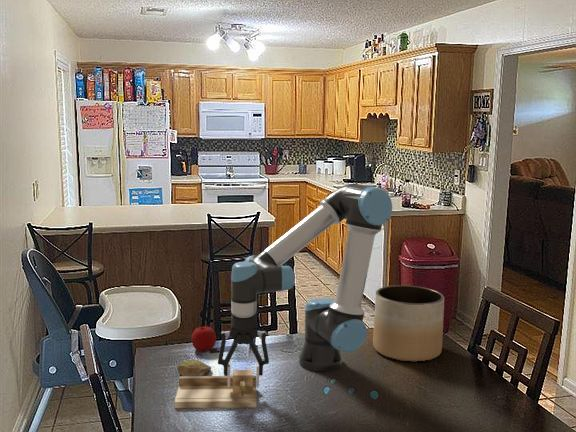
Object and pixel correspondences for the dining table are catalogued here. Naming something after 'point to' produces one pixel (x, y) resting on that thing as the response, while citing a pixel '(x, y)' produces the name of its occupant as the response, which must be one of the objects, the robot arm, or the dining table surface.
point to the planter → (408, 322)
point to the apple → (203, 338)
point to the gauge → (242, 382)
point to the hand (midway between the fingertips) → (243, 385)
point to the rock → (193, 368)
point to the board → (211, 393)
